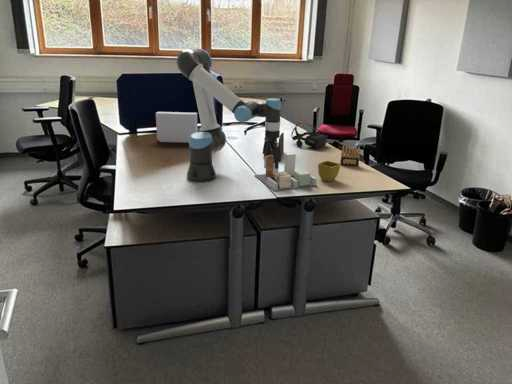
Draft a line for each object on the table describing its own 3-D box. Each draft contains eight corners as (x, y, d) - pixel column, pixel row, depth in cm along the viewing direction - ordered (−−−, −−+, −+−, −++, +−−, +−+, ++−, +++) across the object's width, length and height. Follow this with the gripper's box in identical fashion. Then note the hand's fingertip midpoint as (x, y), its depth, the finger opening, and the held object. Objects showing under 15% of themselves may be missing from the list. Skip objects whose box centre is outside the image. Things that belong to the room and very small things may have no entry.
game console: (196, 143, 291) (195, 114, 284) (157, 142, 292) (155, 113, 285) (198, 141, 297) (197, 112, 290) (159, 140, 297) (157, 111, 290)
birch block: (264, 177, 225) (265, 155, 221) (274, 176, 227) (275, 154, 223) (279, 188, 209) (280, 165, 205) (290, 187, 211) (291, 164, 207)
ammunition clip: (358, 165, 250) (360, 146, 246) (358, 166, 249) (360, 146, 244) (340, 164, 252) (342, 144, 248) (340, 165, 251) (341, 145, 246)
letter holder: (283, 152, 275) (284, 130, 270) (279, 160, 257) (280, 138, 252) (268, 151, 277) (269, 129, 272) (263, 159, 258) (263, 137, 253)
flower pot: (339, 180, 226) (341, 163, 222) (330, 183, 220) (332, 167, 216) (325, 176, 231) (326, 160, 228) (316, 179, 225) (317, 163, 222)
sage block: (283, 175, 229) (284, 153, 225) (293, 173, 231) (294, 152, 227) (299, 186, 213) (300, 163, 209) (309, 184, 216) (311, 162, 211)
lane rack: (254, 176, 229) (254, 168, 227) (293, 171, 238) (294, 164, 236) (274, 191, 207) (274, 184, 206) (316, 185, 216) (317, 178, 215)
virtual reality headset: (314, 153, 280) (318, 131, 274) (285, 143, 292) (288, 122, 286) (328, 147, 294) (332, 126, 288) (299, 138, 306) (302, 118, 300)
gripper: (289, 134, 207) (287, 176, 215) (269, 124, 227) (268, 164, 235) (275, 135, 204) (273, 178, 212) (256, 125, 224) (256, 165, 232)
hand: (271, 170), depth 224 cm, fingers open, 10 cm apart
